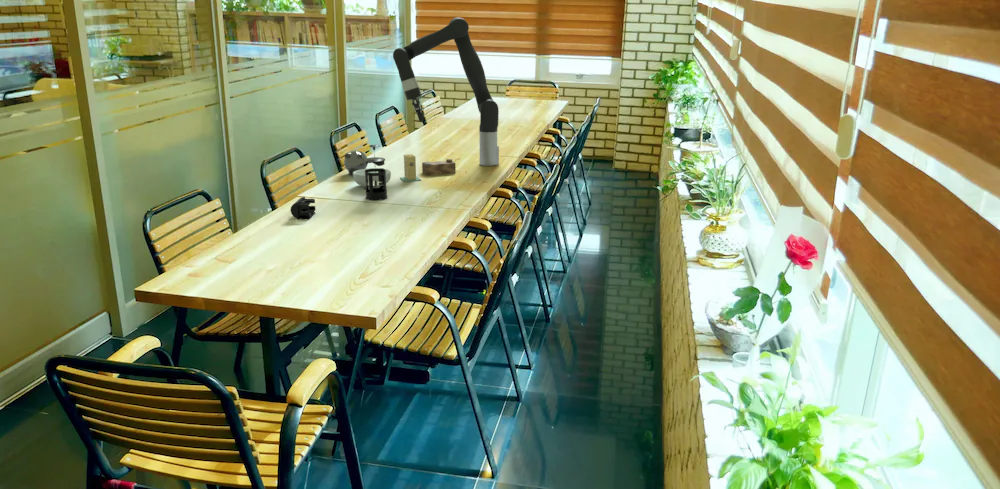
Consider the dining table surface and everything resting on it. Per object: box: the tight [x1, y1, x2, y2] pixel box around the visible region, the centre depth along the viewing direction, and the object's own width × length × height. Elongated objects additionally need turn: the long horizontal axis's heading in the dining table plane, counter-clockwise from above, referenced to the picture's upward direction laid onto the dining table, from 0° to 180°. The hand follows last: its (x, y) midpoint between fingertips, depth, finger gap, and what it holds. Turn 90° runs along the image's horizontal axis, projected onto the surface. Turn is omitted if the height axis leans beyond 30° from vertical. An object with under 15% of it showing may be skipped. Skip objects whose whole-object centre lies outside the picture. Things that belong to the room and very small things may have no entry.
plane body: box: [421, 158, 457, 176], centre depth 373 cm, size 15×6×6 cm, turn 113°
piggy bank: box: [343, 149, 369, 176], centre depth 369 cm, size 11×15×12 cm
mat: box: [399, 175, 422, 183], centre depth 361 cm, size 8×8×1 cm
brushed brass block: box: [403, 153, 417, 180], centre depth 359 cm, size 4×6×11 cm, turn 23°
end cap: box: [290, 196, 316, 220], centre depth 300 cm, size 10×7×7 cm
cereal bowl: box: [352, 167, 392, 189], centre depth 346 cm, size 17×17×7 cm
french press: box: [364, 144, 389, 202], centre depth 325 cm, size 12×9×23 cm
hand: (422, 121), depth 374 cm, fingers open, 8 cm apart
